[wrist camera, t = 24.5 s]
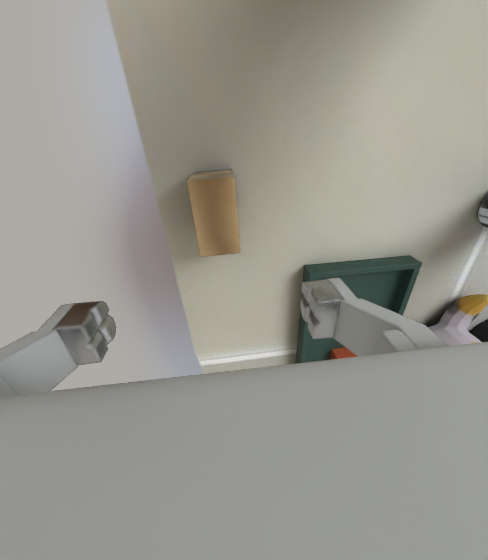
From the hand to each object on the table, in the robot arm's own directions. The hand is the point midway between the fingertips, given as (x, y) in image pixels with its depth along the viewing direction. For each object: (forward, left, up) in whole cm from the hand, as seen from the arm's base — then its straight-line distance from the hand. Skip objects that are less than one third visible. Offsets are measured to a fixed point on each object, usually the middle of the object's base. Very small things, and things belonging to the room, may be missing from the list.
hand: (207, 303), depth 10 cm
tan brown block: (0, 0, -19) cm, 19 cm away
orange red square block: (+27, +18, -18) cm, 37 cm away
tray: (+20, +18, -19) cm, 33 cm away
